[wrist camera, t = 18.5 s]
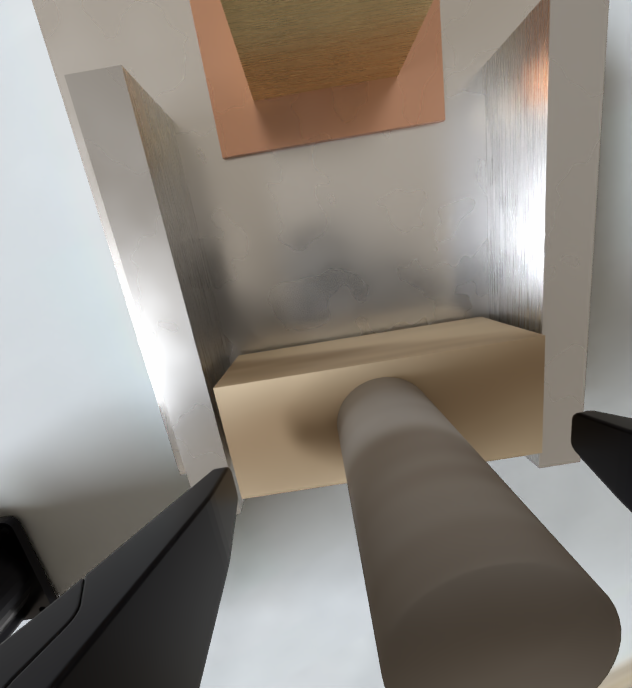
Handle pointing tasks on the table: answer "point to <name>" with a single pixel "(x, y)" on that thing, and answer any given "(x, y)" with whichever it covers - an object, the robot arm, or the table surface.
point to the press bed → (338, 191)
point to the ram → (429, 497)
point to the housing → (321, 41)
